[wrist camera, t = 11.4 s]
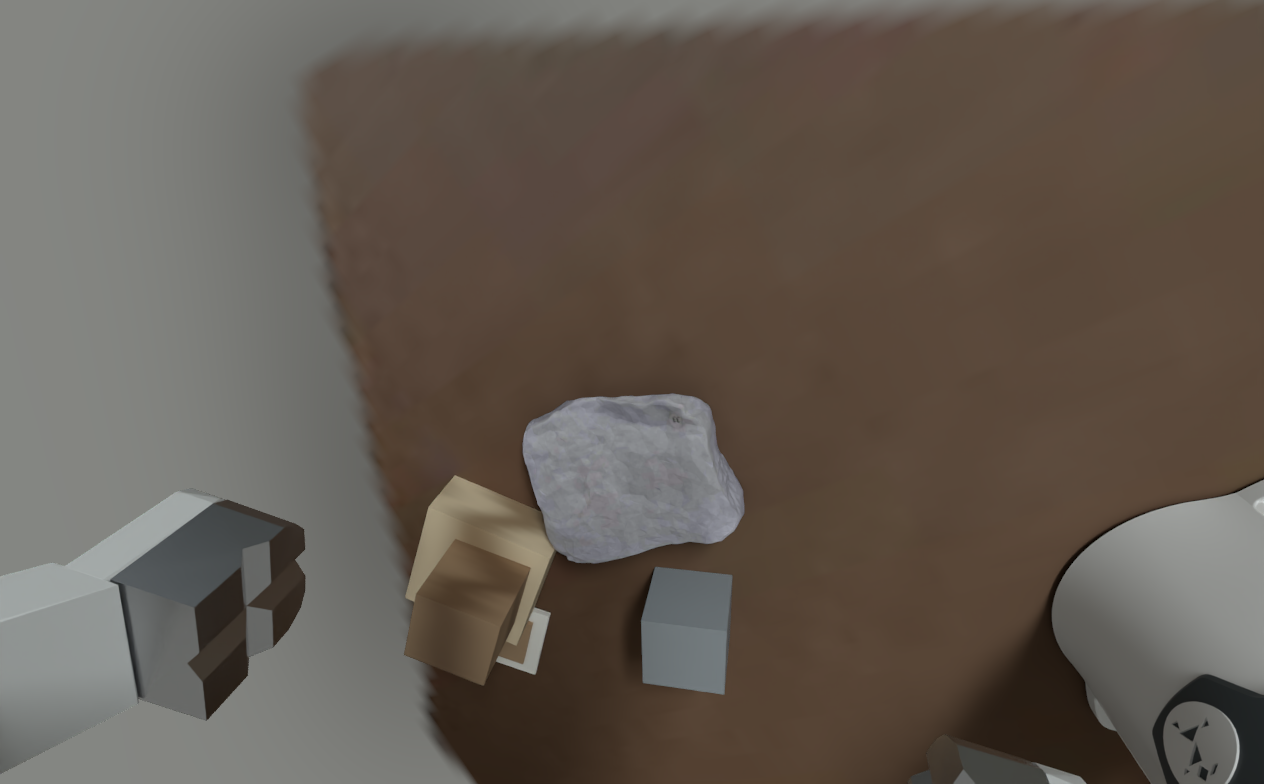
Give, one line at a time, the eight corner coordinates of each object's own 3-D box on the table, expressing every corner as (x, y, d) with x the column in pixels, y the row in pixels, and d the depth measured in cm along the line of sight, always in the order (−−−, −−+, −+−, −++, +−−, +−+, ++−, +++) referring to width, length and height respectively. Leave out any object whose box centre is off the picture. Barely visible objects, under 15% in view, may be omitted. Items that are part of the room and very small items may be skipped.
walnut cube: (530, 567, 41) (500, 626, 37) (514, 624, 43) (483, 686, 39) (455, 538, 41) (415, 594, 37) (442, 596, 44) (404, 654, 39)
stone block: (528, 403, 43) (575, 546, 44) (497, 422, 38) (551, 581, 40) (708, 355, 40) (752, 511, 41) (697, 370, 35) (747, 545, 36)
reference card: (550, 612, 47) (547, 620, 47) (536, 670, 50) (533, 678, 49) (471, 586, 48) (466, 592, 47) (461, 644, 50) (457, 651, 50)
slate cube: (732, 574, 43) (726, 631, 38) (729, 633, 45) (724, 694, 41) (655, 566, 44) (641, 620, 39) (656, 624, 46) (642, 682, 41)
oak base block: (568, 520, 44) (550, 558, 40) (536, 603, 48) (516, 645, 44) (457, 472, 44) (428, 506, 41) (433, 559, 48) (405, 597, 44)
